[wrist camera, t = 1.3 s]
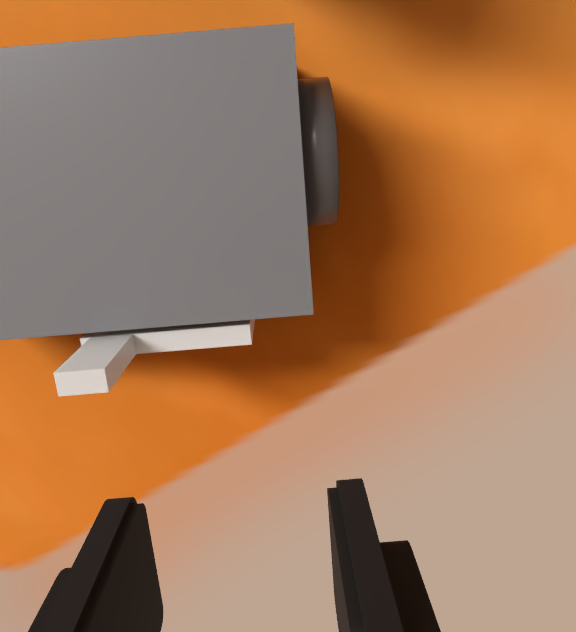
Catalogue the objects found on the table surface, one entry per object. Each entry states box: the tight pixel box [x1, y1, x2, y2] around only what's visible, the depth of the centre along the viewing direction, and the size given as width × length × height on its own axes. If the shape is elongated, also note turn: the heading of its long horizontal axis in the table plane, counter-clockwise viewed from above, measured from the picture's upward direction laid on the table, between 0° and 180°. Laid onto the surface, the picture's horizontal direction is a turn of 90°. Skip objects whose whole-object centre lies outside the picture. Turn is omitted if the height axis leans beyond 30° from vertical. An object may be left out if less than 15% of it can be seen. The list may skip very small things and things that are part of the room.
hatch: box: [54, 319, 255, 396], centre depth 27 cm, size 8×1×12 cm, turn 95°
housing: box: [0, 23, 339, 340], centre depth 27 cm, size 22×13×10 cm, turn 95°
